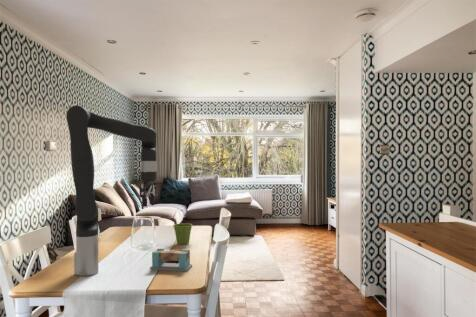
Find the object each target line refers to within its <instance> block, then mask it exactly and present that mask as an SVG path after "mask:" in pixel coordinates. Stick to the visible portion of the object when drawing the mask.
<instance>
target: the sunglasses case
mask: <svg viewBox="0 0 476 317" xmlns="http://www.w3.org/2000/svg"><path fill="white" fill-rule="evenodd" d="M183 250H184V249H182V248H176V249H174V250H173V251H183ZM164 263H177V264H179V261H169V260H164Z"/></svg>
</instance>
